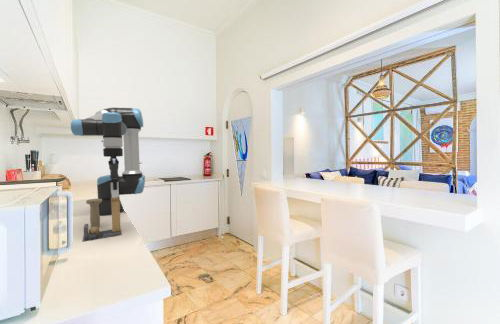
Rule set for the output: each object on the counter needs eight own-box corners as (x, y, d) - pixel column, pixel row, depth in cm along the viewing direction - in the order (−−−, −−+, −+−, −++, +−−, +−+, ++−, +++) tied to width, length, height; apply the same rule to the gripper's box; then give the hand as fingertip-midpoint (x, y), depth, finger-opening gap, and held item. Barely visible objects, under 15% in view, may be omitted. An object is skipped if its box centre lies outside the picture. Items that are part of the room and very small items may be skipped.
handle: (102, 231, 118) (101, 200, 117) (86, 233, 115) (85, 201, 114) (104, 228, 122) (102, 198, 121) (88, 230, 120) (87, 199, 119)
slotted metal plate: (84, 237, 110) (83, 222, 110) (120, 231, 117) (120, 217, 117) (82, 245, 101) (81, 229, 100) (122, 238, 108) (121, 223, 108)
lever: (111, 231, 112) (110, 197, 111) (120, 229, 114) (119, 196, 113) (112, 233, 109) (110, 199, 108) (121, 232, 111) (119, 198, 110)
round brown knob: (91, 234, 109) (91, 225, 109) (101, 233, 110) (101, 225, 109) (87, 237, 105) (86, 228, 105) (97, 237, 106) (97, 227, 105)
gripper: (103, 148, 118) (105, 192, 119) (103, 147, 97) (105, 200, 98) (120, 148, 122) (122, 190, 123) (124, 146, 101) (126, 198, 101)
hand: (114, 195), depth 110 cm, fingers open, 13 cm apart
